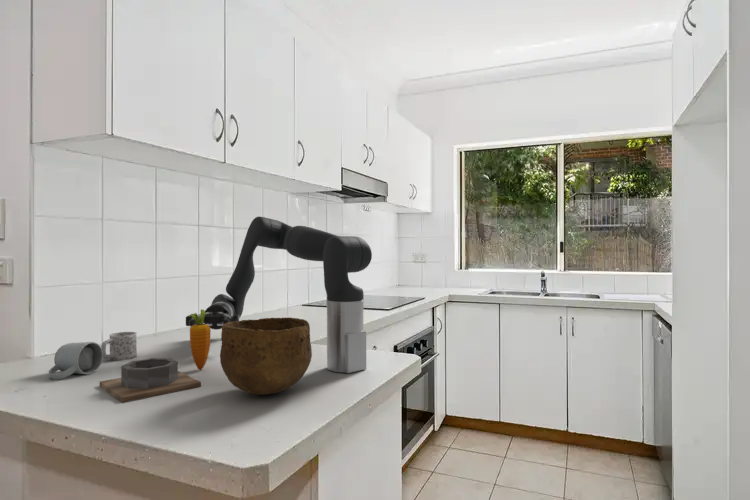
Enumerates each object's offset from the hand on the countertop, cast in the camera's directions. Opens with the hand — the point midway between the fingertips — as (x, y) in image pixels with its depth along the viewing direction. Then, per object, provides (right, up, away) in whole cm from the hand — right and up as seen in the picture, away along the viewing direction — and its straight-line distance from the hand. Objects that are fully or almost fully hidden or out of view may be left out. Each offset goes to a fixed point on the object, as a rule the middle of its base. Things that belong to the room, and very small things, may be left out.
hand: (208, 323), depth 132 cm
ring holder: (-4, -10, -25) cm, 27 cm away
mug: (-25, -10, +2) cm, 27 cm away
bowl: (+23, -10, -30) cm, 39 cm away
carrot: (+2, -10, -11) cm, 15 cm away
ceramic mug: (-27, -10, -15) cm, 33 cm away
